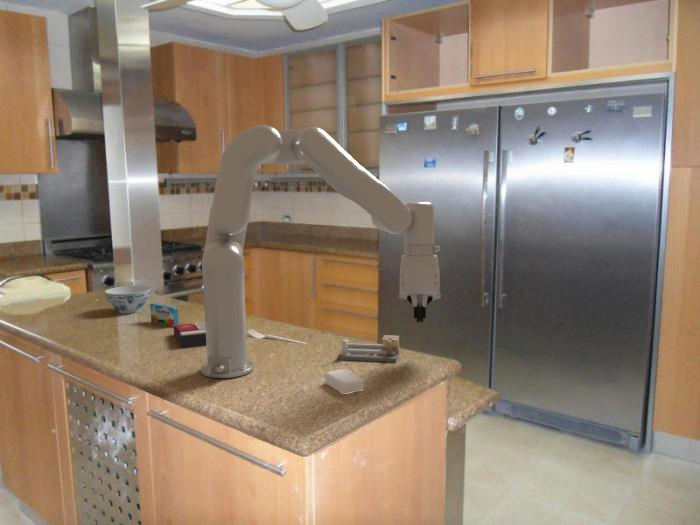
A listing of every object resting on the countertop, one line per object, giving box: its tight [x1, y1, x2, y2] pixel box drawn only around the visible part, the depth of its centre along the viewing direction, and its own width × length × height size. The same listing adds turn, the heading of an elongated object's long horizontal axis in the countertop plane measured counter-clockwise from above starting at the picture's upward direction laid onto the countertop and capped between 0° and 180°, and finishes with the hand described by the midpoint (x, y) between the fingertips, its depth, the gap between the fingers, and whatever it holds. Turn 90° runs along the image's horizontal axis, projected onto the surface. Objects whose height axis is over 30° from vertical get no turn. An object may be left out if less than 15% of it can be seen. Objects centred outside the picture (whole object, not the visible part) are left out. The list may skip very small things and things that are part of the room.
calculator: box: [173, 321, 206, 349], centre depth 169 cm, size 11×4×15 cm
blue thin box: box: [149, 302, 179, 328], centre depth 187 cm, size 12×2×6 cm, turn 54°
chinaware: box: [104, 285, 152, 314], centre depth 205 cm, size 15×15×8 cm
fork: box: [247, 328, 307, 345], centre depth 169 cm, size 3×20×2 cm, turn 61°
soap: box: [324, 368, 365, 394], centre depth 130 cm, size 9×6×3 cm, turn 30°
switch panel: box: [337, 339, 400, 363], centre depth 152 cm, size 9×15×4 cm, turn 80°
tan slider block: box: [381, 334, 400, 355], centre depth 151 cm, size 7×4×4 cm, turn 170°
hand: (420, 320), depth 151 cm, fingers closed
